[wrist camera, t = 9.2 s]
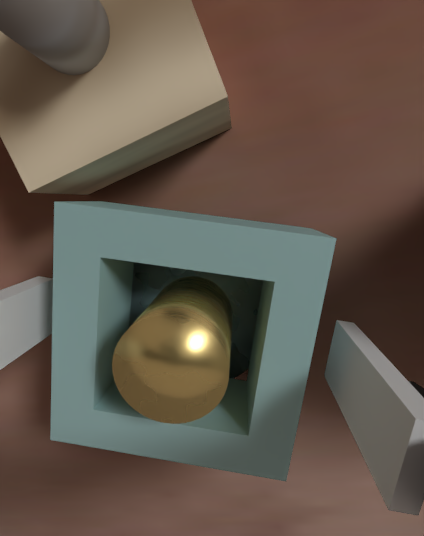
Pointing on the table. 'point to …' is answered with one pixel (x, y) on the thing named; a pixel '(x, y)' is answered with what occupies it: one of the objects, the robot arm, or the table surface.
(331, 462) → the table surface
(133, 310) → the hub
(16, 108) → the stand
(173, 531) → the table surface
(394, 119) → the table surface
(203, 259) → the teal square ring
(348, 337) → the robot arm
